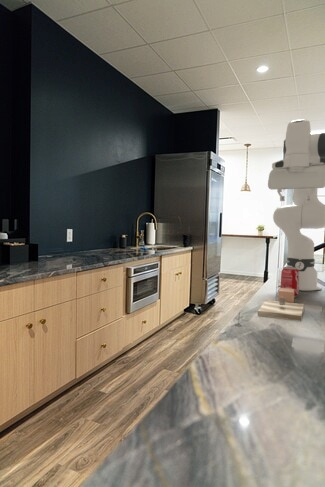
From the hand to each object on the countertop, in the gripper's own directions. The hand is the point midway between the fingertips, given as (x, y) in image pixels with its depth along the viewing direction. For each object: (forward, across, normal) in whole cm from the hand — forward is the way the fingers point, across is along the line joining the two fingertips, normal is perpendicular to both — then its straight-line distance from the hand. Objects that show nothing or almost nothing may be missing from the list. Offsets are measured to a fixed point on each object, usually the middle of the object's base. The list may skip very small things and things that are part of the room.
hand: (295, 200), depth 123 cm
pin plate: (+39, +2, +16) cm, 42 cm away
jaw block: (+39, +2, +2) cm, 39 cm away
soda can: (+39, +2, -10) cm, 40 cm away
